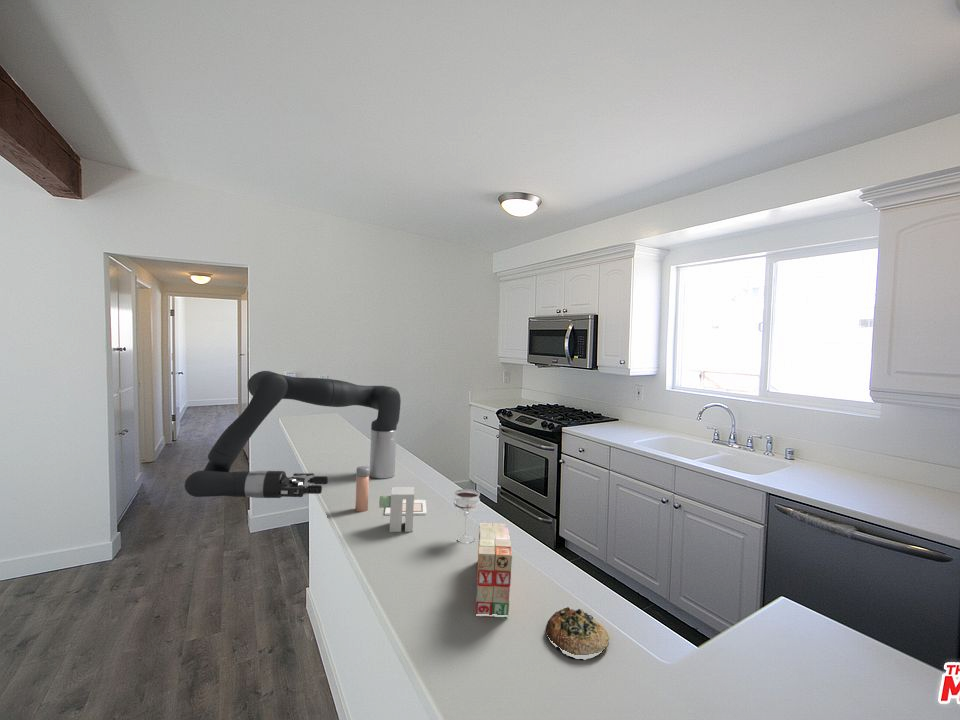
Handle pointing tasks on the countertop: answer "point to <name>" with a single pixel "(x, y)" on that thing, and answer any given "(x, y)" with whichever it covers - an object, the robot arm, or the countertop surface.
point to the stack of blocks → (493, 569)
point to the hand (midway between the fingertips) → (324, 484)
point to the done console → (396, 508)
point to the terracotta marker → (362, 488)
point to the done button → (385, 502)
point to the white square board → (418, 509)
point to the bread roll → (576, 632)
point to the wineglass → (466, 508)
